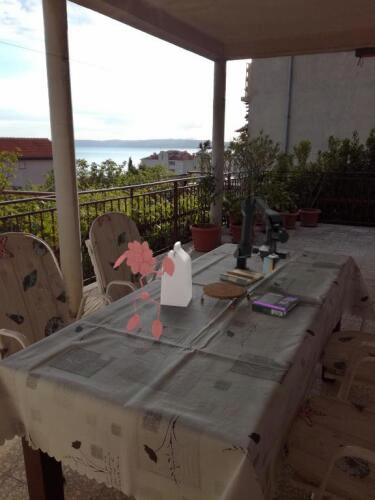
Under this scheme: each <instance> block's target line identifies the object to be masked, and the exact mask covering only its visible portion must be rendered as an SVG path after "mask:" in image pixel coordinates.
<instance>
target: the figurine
mask: <svg viewBox="0 0 375 500" xmlns="http://www.w3.org/2000/svg"><path fill="white" fill-rule="evenodd" d="M127 247H128V250H126V251H124V253H123V254H122V255H120V257H118V259H117V260H116V261H115V264H114V265H113V269H116V268H117V267H118V266H120V265H121V264H122V263H123V262H124V261H125V259H127V260H126V265H127V266H128V267H130V270H131V272H132V274H133V275H137V274H138V273H140V275H141V277H139V282H140V285H141V289H142V293H141V295H140V296H138V297H135V298H134V299H133V300H134V301H133V303H134V305H133V306H134V315H133V316H132V317H130V319H129V320H128V323H126V325H127V328H126V333H129V332H131V331H133V330H134V329H135V328H136V327H137V326H139V328H140V329H142V325H141V323H140V316H139V315H138V314H137V310H136V300H137V299H142V300H143V301H151V302H153V303H155V304H157V305H159V307H158V314H157V319H156V320H154V322H153V324H152V326H151V332H152V334H153V337H154V338H155V339H156V340H157V341H158V340H159V338H160V337H161V336H162V334H163V324H162V322H161V321H160V320H159V319H160V314H161V313H160V312H161V308H162V307H161V306H162V305H161V304H160V303H159V302H157V301H155V300H153V299H151V298H150V295H149V293H147V292H145V289H144V285H143V281H142V280H143V278H145V277H146V276H147V274H152V273H155V274H158V275H161V276H162V275H164V272H166V273H167V274H168V275H170V276H171V277H172V275H173V273H174V270H175V265H174V262H173V261H172V260H171V258H169V257H168V255H165V256H164V258H163V259H162V263H163V264H161V266H162V265H163V273H162V272H160V271H156V270H153V266H155V265H156V264H157V263H158V261H157V259H156V258H154V257H153V255H154V253H153V250H152V249H150V247H149V243H148V242H147V241H143V242H142V243H140V242H139V241H137V240H133V242H128V244H127ZM119 342H120V344H122V345H123V346H126V347H127V348H130V349H131V348H132V349H135V347H134V346H129V345H126V344H124V343H122V342H121V341H119ZM157 348H160V347H159V346H158V347H156V349H157ZM136 349H140V350H146V348H142V347H141V348H140V347H136ZM151 349H154V347H152V348H151V347H150V348H148V350H151Z"/></svg>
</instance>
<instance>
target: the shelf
mask: <svg viewBox="0 0 375 500" xmlns="http://www.w3.org/2000/svg"><path fill="white" fill-rule="evenodd" d="M263 276H265V275H264V273H257V272H254V271H249V270H246V269H245V270H241V269H236V268H235V269H234V270H228V269H227V270H226V273H222V272H220V273H219V279H220V280H223V281H226V282H227V281H228V282H230V283H231V282H232V283H235V284H239V285H242V286H248V285H250V284H252V282H253V283H254V281H255V282H256V280H257V281H259V280H261V279H263V278H264V277H263ZM262 277H263V278H262ZM260 278H261V279H260ZM258 279H259V280H258Z"/></svg>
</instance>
